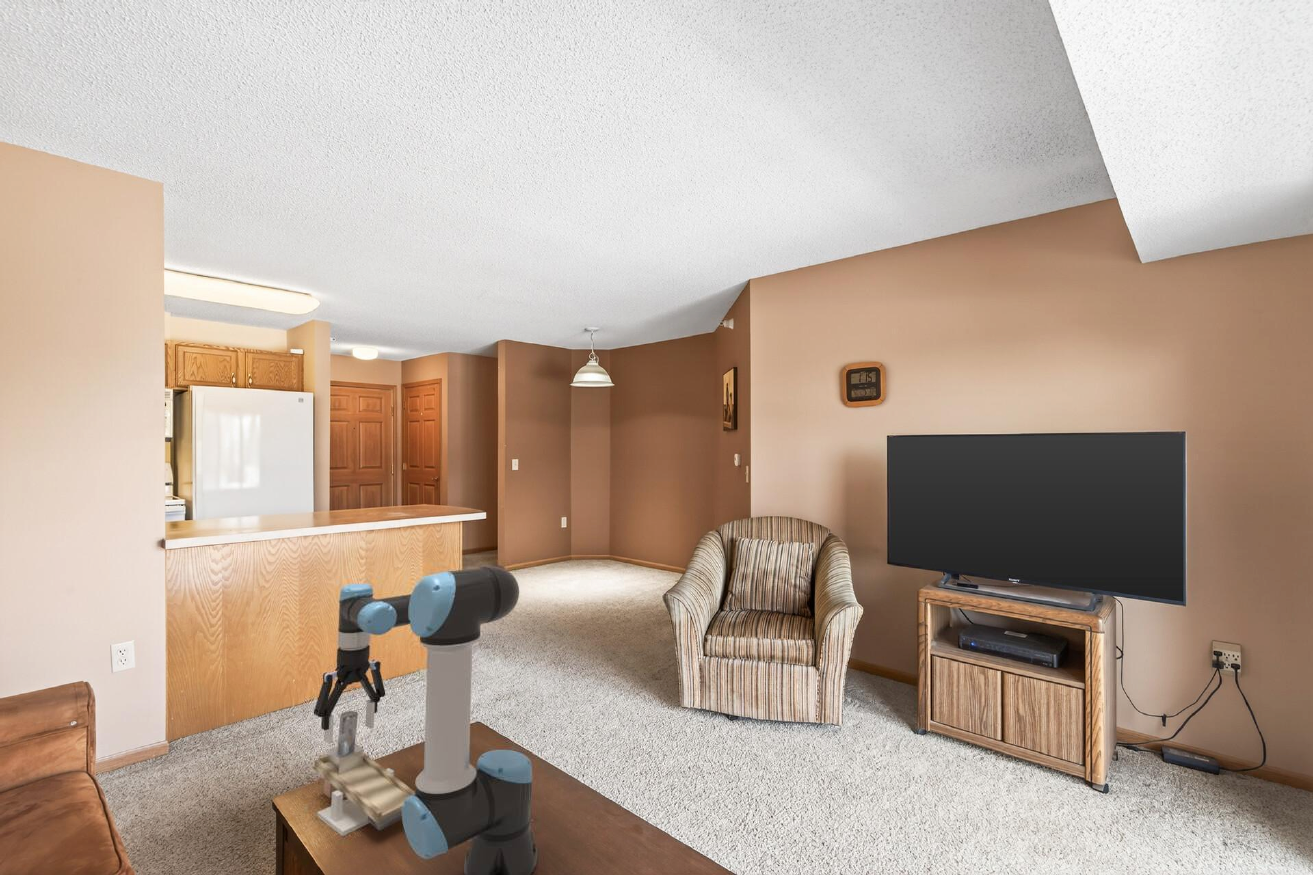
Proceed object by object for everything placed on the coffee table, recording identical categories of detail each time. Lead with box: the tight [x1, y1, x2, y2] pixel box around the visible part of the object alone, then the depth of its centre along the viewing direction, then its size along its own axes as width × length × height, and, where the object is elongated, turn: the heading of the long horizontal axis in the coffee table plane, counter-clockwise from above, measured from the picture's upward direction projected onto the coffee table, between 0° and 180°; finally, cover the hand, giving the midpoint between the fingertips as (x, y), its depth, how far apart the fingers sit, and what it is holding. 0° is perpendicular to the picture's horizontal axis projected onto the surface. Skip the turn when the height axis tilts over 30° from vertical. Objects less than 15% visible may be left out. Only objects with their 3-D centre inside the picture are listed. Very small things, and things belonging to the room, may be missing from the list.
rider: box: [327, 710, 365, 775], centre depth 152 cm, size 6×6×13 cm
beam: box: [313, 752, 415, 831], centre depth 147 cm, size 30×11×5 cm, turn 54°
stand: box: [317, 767, 395, 837], centre depth 149 cm, size 20×16×7 cm
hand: (349, 733), depth 152 cm, fingers open, 10 cm apart
